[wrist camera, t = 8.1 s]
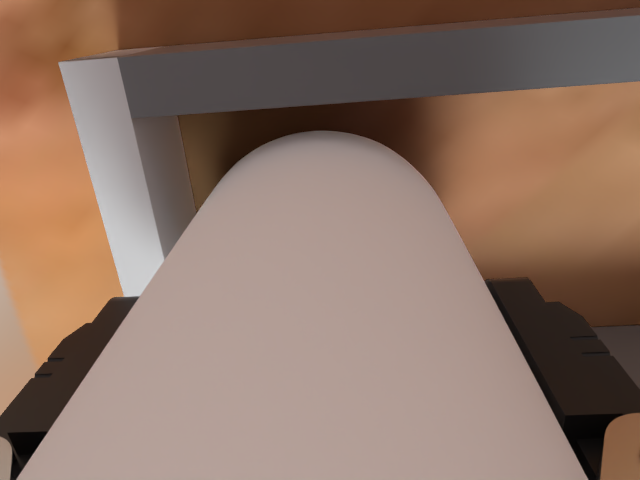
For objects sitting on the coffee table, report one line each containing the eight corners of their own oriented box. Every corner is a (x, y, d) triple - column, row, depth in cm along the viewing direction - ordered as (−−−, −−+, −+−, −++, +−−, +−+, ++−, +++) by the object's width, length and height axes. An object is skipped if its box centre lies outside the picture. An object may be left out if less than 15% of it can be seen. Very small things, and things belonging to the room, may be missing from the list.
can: (493, 264, 13) (1138, 1339, 3) (307, 379, 15) (235, 1282, 4) (346, 67, 11) (492, 1168, 1) (153, 227, 13) (-657, 1199, 2)
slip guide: (870, -12, 12) (1033, -17, 9) (745, 350, 16) (829, 421, 13) (117, 49, 13) (58, 62, 10) (192, 374, 17) (165, 444, 14)
